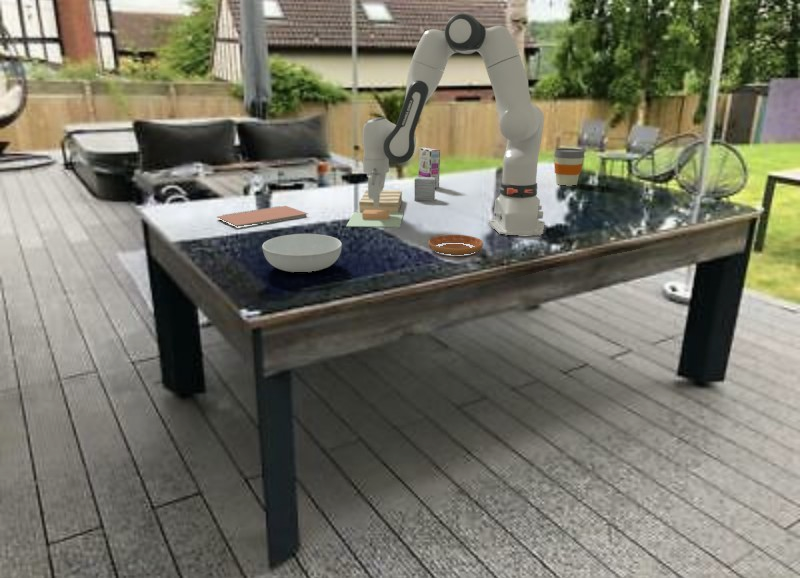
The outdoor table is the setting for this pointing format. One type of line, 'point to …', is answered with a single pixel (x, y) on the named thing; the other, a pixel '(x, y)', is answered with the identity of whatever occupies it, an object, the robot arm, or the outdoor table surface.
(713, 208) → the outdoor table surface
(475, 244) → the saucer
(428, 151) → the candy bar box
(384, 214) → the orange rectangular block
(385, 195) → the plate
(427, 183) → the medicine box
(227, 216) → the notebook
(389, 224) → the mat
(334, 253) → the serving bowl
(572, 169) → the reusable coffee cup
